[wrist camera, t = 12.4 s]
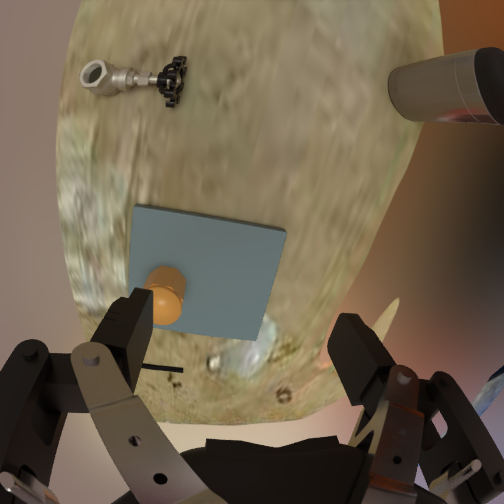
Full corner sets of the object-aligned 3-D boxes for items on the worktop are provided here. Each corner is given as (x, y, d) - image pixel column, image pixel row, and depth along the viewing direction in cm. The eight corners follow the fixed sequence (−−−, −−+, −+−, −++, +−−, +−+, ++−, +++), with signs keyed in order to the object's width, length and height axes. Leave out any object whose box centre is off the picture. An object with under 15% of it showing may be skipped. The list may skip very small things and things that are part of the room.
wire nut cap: (187, 270, 35) (183, 292, 30) (183, 302, 37) (179, 328, 32) (150, 263, 34) (139, 284, 29) (147, 296, 36) (138, 321, 31)
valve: (93, 107, 27) (178, 111, 29) (70, 101, 21) (169, 103, 23) (104, 62, 25) (189, 64, 27) (85, 49, 19) (184, 47, 21)
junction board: (284, 229, 37) (287, 232, 35) (254, 335, 43) (256, 340, 41) (136, 203, 33) (133, 206, 31) (131, 317, 39) (129, 322, 37)
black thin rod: (119, 361, 42) (117, 365, 41) (118, 358, 42) (117, 361, 41) (183, 370, 44) (182, 374, 43) (183, 366, 44) (182, 370, 43)
